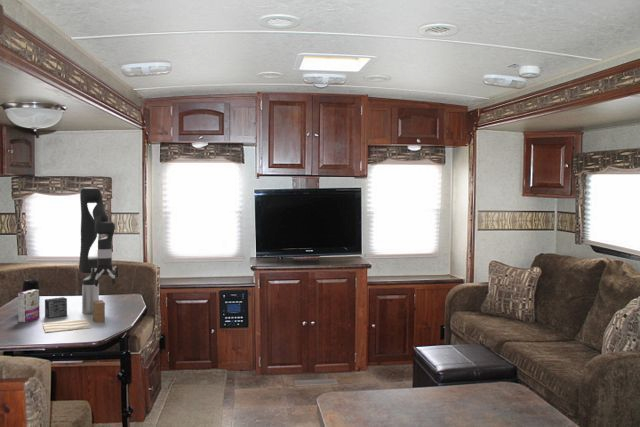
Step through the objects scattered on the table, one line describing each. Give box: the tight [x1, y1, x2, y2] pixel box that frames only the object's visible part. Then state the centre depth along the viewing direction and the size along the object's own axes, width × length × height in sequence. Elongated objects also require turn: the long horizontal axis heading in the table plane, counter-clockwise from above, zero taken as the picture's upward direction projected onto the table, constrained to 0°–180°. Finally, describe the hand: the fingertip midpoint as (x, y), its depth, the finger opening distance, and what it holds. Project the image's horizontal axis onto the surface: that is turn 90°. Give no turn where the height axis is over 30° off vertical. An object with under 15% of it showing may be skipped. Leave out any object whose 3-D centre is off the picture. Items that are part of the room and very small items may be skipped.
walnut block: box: [92, 299, 106, 324], centre depth 302 cm, size 8×5×11 cm, turn 31°
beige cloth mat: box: [42, 318, 92, 334], centre depth 289 cm, size 20×22×1 cm
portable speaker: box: [22, 278, 40, 292], centre depth 321 cm, size 9×9×20 cm
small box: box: [44, 296, 68, 319], centre depth 310 cm, size 11×6×10 cm, turn 134°
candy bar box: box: [17, 289, 40, 323], centre depth 300 cm, size 11×5×16 cm, turn 168°
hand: (104, 285), depth 301 cm, fingers open, 8 cm apart
